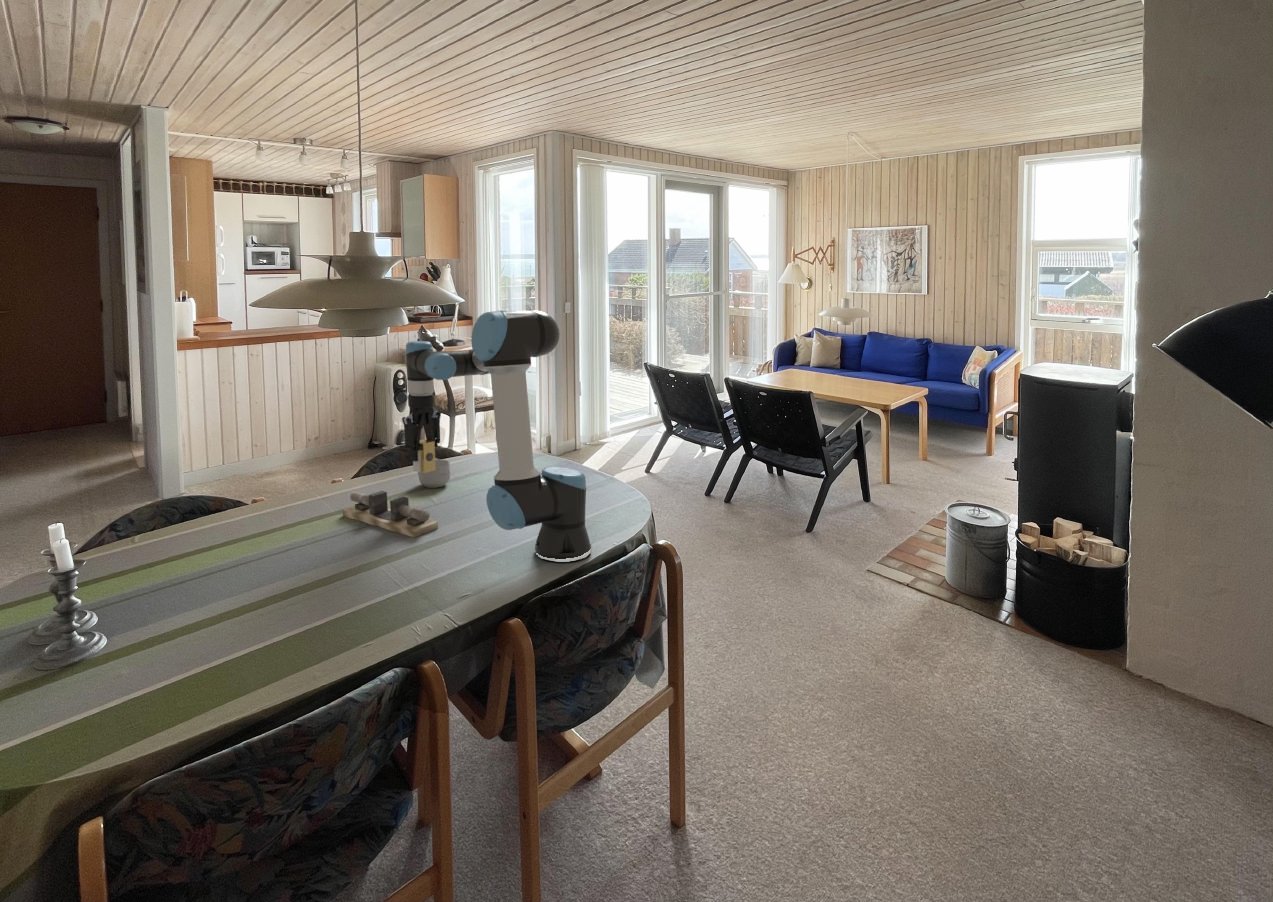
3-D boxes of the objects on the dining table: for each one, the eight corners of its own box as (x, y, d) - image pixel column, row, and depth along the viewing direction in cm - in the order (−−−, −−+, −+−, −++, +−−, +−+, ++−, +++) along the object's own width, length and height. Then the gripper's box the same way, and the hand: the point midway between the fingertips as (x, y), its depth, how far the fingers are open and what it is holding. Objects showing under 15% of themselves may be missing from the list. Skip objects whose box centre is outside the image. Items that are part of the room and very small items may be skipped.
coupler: (436, 469, 230) (434, 441, 228) (425, 473, 226) (423, 443, 224) (424, 467, 233) (423, 439, 231) (413, 470, 229) (412, 441, 227)
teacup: (445, 490, 252) (445, 467, 250) (413, 489, 252) (412, 466, 250) (456, 478, 266) (455, 457, 264) (425, 477, 266) (424, 455, 264)
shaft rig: (437, 528, 218) (437, 502, 216) (414, 537, 210) (413, 510, 208) (367, 508, 233) (365, 483, 231) (342, 516, 225) (341, 490, 223)
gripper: (433, 388, 233) (436, 461, 239) (388, 396, 219) (392, 473, 224) (451, 391, 229) (453, 465, 235) (407, 399, 215) (410, 477, 221)
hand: (424, 469), depth 230 cm, fingers closed on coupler, 4 cm apart
